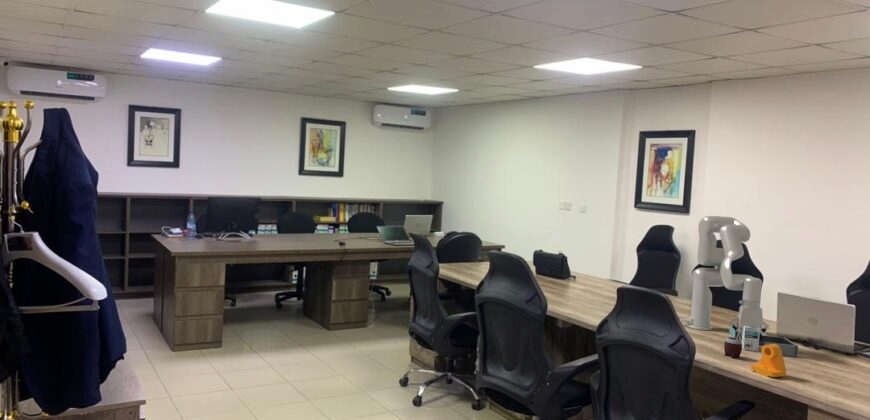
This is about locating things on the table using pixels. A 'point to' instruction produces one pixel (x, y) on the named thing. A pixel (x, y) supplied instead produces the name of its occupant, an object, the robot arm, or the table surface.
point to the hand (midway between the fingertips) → (747, 340)
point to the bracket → (770, 362)
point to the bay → (780, 344)
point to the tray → (732, 331)
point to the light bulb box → (750, 338)
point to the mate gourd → (733, 346)
